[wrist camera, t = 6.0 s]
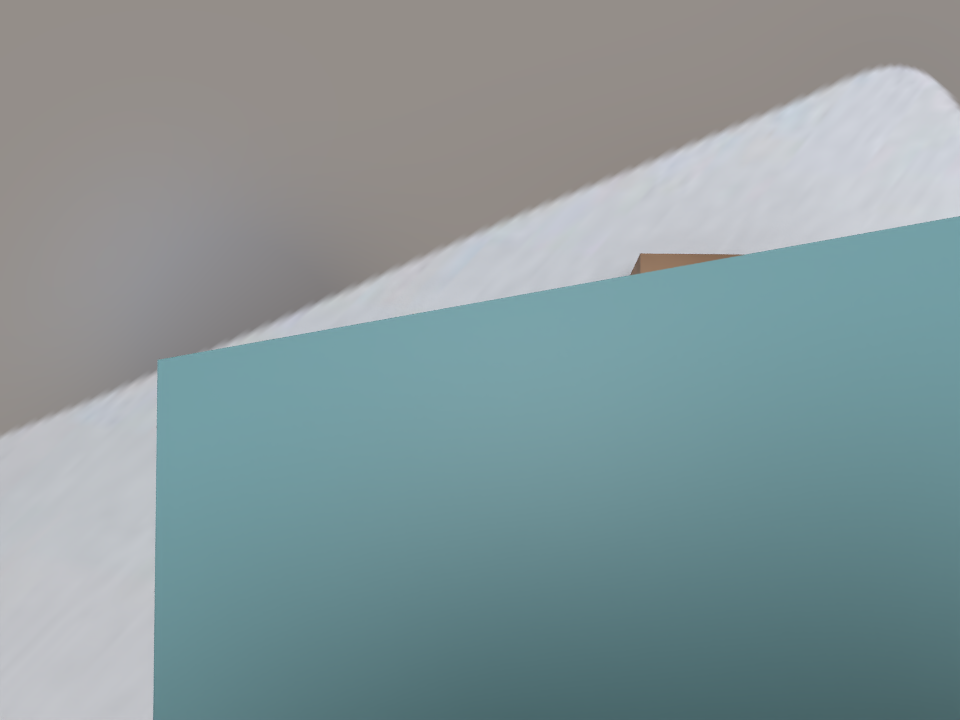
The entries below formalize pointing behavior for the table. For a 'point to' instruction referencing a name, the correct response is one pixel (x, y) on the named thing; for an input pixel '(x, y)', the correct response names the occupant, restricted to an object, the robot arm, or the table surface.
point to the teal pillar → (580, 502)
